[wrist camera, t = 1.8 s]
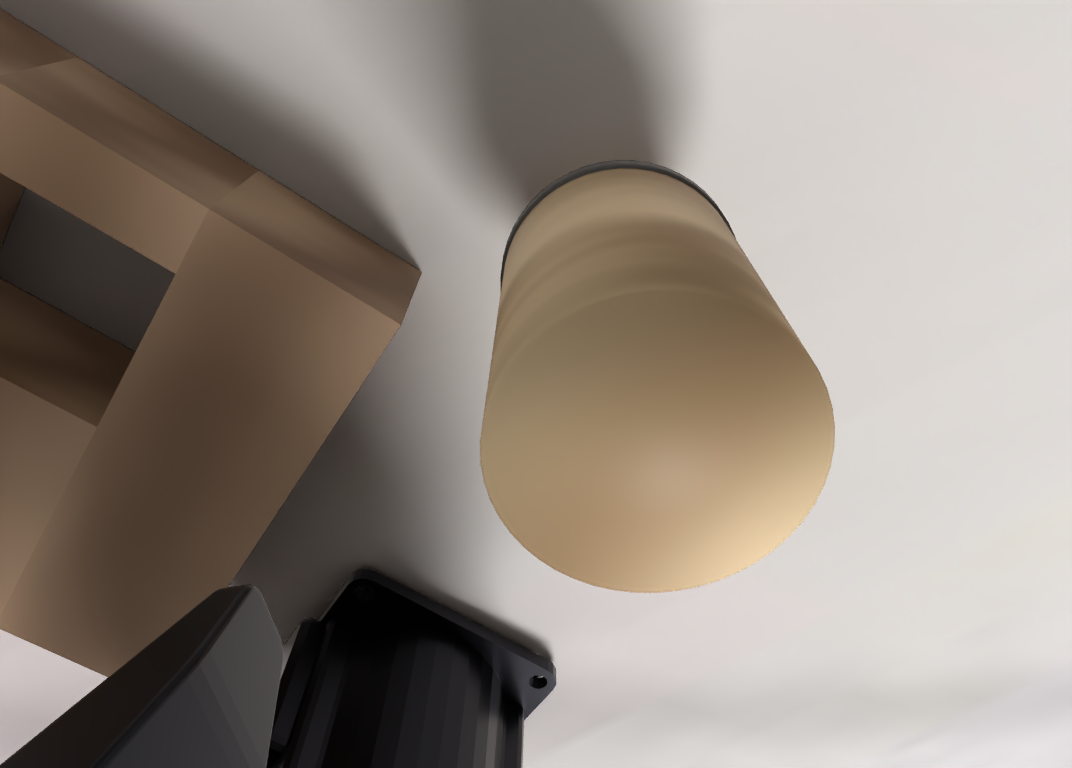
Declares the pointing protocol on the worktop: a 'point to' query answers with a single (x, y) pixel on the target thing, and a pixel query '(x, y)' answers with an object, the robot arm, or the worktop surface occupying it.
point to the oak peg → (646, 388)
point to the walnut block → (162, 362)
